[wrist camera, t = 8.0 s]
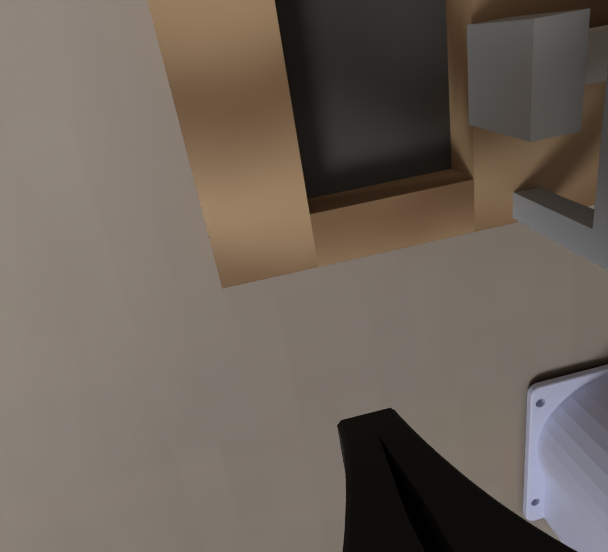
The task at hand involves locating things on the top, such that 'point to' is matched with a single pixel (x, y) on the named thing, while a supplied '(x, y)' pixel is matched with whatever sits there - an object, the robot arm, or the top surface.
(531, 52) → the sliding frame
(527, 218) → the grey tunnel
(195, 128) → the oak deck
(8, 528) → the top surface
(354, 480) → the robot arm
